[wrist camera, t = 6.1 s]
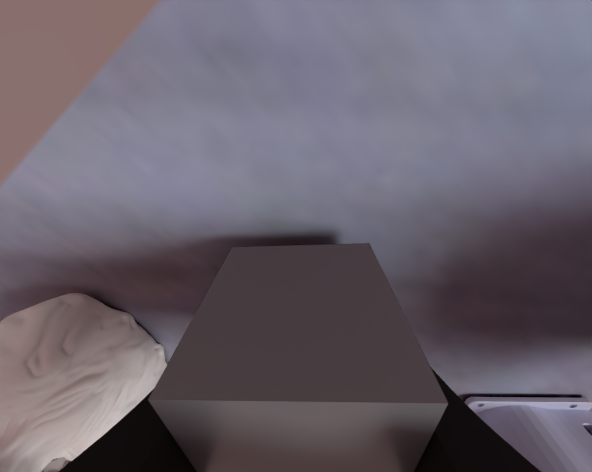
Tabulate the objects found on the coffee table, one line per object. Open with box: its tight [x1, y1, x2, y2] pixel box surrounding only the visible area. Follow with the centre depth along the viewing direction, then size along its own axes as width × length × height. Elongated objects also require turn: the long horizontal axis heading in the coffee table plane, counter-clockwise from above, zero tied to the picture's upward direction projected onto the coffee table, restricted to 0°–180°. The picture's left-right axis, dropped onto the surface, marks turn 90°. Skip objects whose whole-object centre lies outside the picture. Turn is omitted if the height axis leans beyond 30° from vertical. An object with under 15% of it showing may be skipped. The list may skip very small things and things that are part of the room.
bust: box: [0, 293, 167, 472], centre depth 13 cm, size 12×8×11 cm
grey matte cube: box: [148, 243, 448, 472], centre depth 9 cm, size 6×6×7 cm
